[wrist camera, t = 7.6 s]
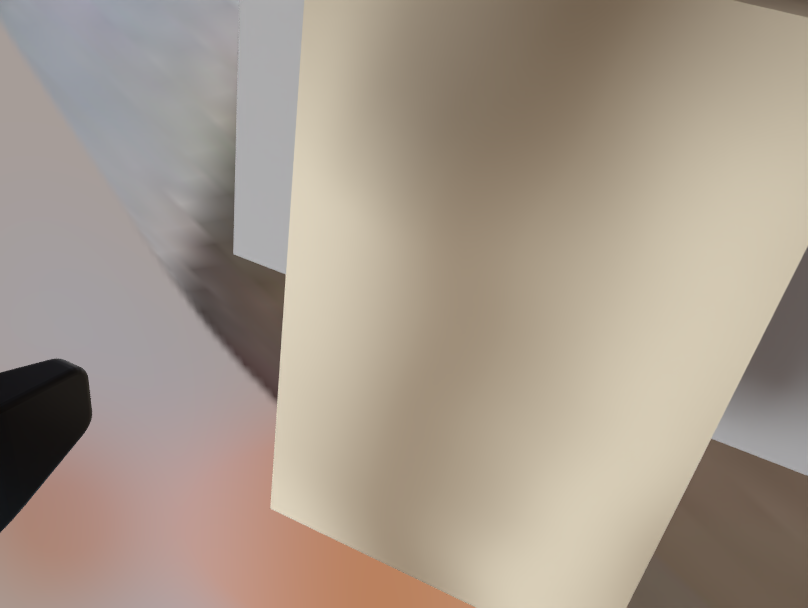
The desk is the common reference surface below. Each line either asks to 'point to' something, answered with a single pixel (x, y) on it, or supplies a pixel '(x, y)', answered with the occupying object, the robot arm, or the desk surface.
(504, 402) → the lid board
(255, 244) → the desk mat
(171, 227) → the desk surface
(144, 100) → the desk surface
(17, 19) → the desk surface
